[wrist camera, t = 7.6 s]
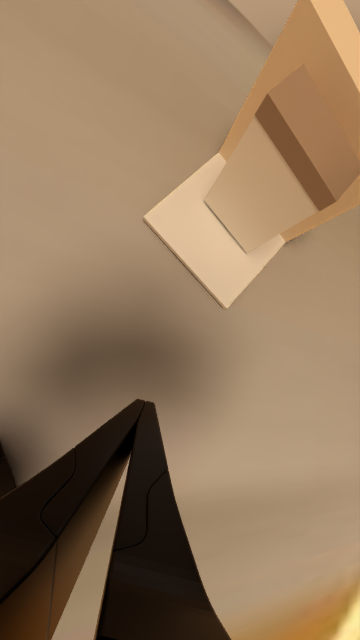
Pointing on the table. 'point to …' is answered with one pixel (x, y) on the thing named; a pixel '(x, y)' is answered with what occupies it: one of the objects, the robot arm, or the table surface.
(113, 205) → the table surface
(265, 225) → the brown topped beige block
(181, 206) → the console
